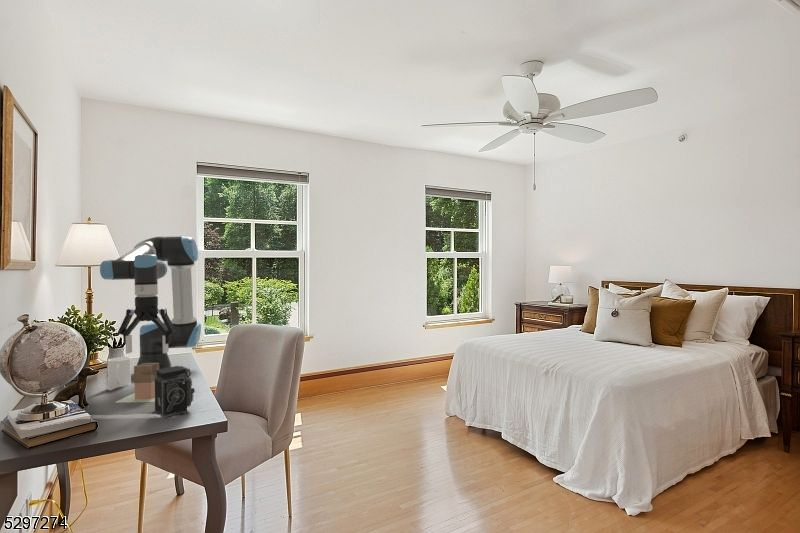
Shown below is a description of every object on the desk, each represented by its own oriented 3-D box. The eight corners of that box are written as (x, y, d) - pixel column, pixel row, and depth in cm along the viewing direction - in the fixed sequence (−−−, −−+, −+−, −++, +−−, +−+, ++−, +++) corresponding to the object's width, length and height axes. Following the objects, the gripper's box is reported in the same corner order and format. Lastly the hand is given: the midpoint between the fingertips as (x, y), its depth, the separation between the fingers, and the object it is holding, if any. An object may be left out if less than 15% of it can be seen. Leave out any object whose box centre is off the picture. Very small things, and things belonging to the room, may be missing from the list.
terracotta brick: (143, 394, 172) (143, 378, 172) (159, 394, 172) (159, 378, 173) (134, 399, 166) (134, 382, 166) (151, 398, 166) (151, 382, 167)
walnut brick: (143, 378, 172) (143, 362, 172) (159, 378, 172) (159, 362, 172) (134, 382, 166) (134, 366, 166) (150, 382, 166) (150, 366, 166)
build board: (136, 395, 176) (136, 391, 176) (178, 394, 177) (177, 391, 177) (114, 405, 162) (114, 402, 162) (159, 405, 163) (159, 401, 163)
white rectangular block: (127, 391, 182) (127, 361, 182) (102, 393, 179) (102, 363, 179) (133, 384, 193) (133, 356, 193) (110, 386, 190) (109, 357, 190)
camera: (197, 412, 154) (196, 368, 154) (163, 420, 146) (162, 373, 146) (185, 406, 161) (185, 363, 161) (153, 412, 154) (152, 368, 154)
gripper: (106, 297, 166) (107, 355, 166) (175, 296, 166) (176, 354, 166) (118, 295, 173) (119, 351, 174) (184, 294, 174) (185, 350, 174)
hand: (147, 352), depth 170 cm, fingers open, 13 cm apart
